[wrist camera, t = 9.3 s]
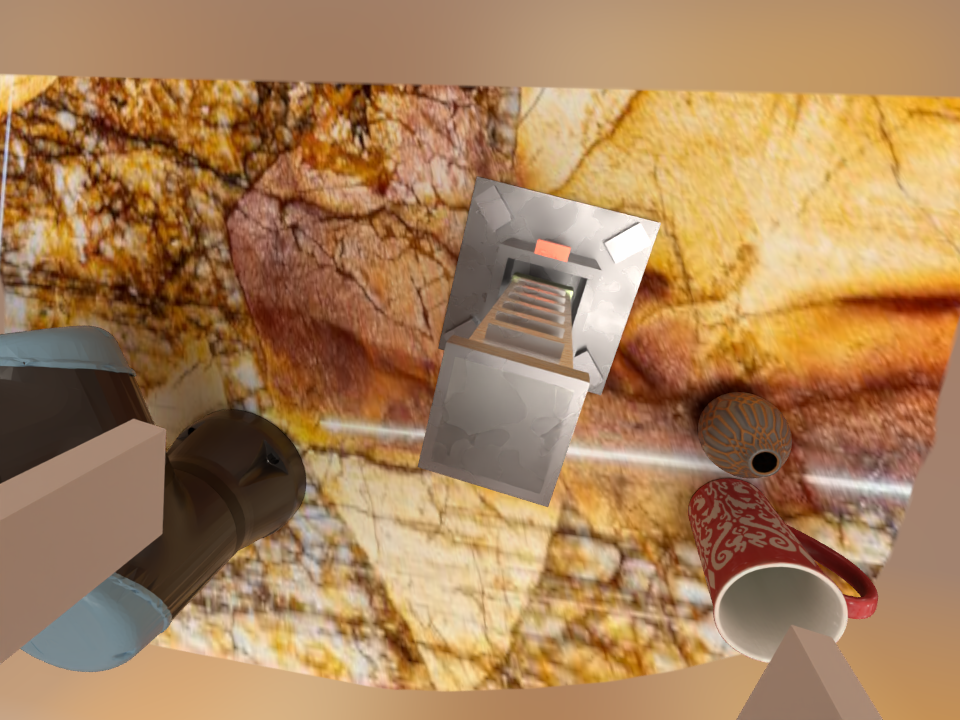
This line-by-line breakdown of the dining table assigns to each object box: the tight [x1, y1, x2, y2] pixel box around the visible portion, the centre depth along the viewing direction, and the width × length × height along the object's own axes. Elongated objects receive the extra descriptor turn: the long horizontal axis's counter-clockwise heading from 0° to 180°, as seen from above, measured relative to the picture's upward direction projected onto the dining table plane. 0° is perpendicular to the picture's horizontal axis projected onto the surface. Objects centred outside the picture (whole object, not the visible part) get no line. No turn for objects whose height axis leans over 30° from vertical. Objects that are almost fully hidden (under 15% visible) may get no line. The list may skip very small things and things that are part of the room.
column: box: [418, 272, 590, 507], centre depth 27 cm, size 5×5×22 cm
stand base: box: [438, 177, 661, 395], centre depth 41 cm, size 16×16×10 cm
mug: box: [688, 478, 878, 663], centre depth 42 cm, size 13×9×14 cm
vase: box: [698, 392, 792, 478], centre depth 42 cm, size 7×7×9 cm
